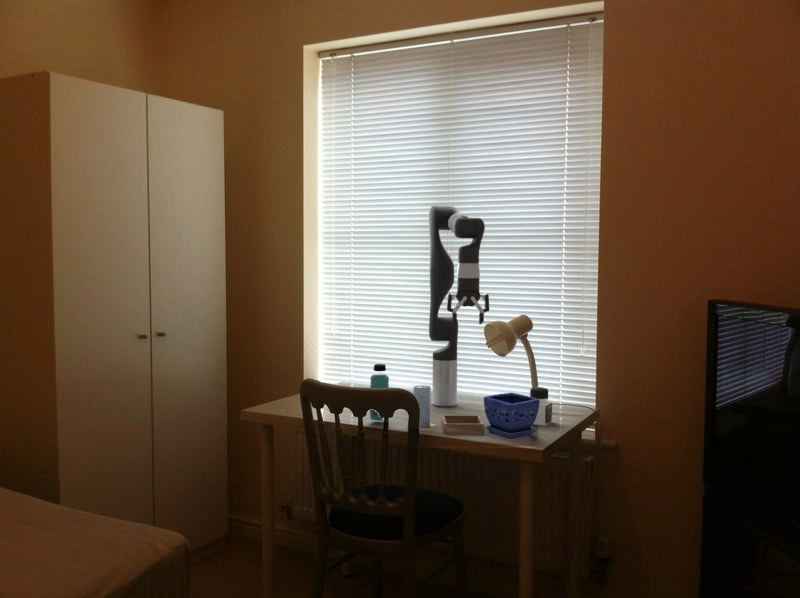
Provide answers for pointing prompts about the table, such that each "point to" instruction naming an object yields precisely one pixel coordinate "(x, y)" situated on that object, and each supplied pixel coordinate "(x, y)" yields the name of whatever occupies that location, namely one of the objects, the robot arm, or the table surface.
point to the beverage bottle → (378, 385)
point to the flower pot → (511, 414)
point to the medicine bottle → (542, 406)
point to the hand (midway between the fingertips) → (467, 324)
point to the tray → (462, 424)
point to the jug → (423, 404)
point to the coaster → (429, 427)
